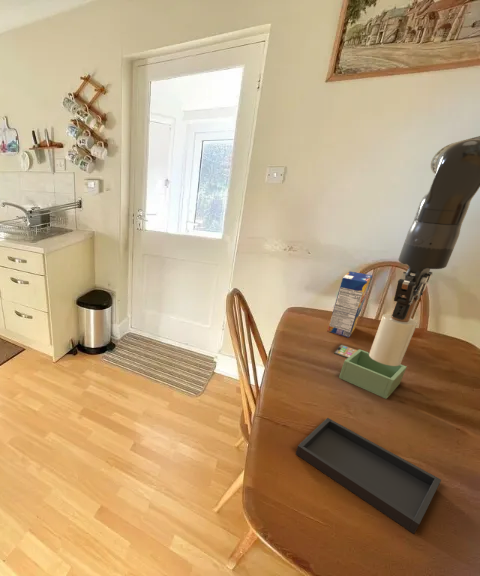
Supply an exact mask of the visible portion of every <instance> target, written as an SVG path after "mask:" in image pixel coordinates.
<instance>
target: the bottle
mask: <svg viewBox="0 0 480 576" xmlns="http://www.w3.org/2000/svg"><path fill="white" fill-rule="evenodd" d="M402 297H403V296H402ZM403 298H407V297H403ZM417 302H418V300H417V301H416V300H414V299H413V303H412V304H411V305H410V308H409V311H408V313H407V316H406V318H405V319H404V320H401V319H397V318H394V317H392V314H393V311H394V309H395V306H396V303H397V302H396V301H395V303H394V306H393V309H392V312H391V313H384V314H382V317H381V319H380V322H379V325H378V327H377V331H376V333H375V336H374V339H373V341H372V344H371V347H370V349H369V356H370V357H371V358H372V359H373V360H375V361H377V362H379V363H382V364H385V365H390V366H399V365H402V363H403V361H404V358H405V355H406V353H407V350H408V348H409V345H410V343H411V341H412V339H413V336H414V333H415V331H416V329H417V326H418V322H417V320H416V319H413V318H412V315H413V312H414V310H415V307H416V305H417Z"/></svg>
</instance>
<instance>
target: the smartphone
mask: <svg viewBox="0 0 480 576" xmlns="http://www.w3.org/2000/svg"><path fill="white" fill-rule="evenodd" d="M358 350H359V349H355V348H352V347H350V346H347V345H344V344H340V345H339V346H338V348H336V350H335V351H334V352H333V354H334V355H336V356H340V357H342V358H346V359H347V358H349V357H350V356H351V355H352V354H354V353H355V352H356V351H358Z"/></svg>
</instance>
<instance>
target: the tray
mask: <svg viewBox="0 0 480 576" xmlns="http://www.w3.org/2000/svg"><path fill="white" fill-rule="evenodd" d="M295 455H296V456H297V457H299V458H300V459H301V460H303V461H304V462H306V463H308V465H311V466H312V467H314V468H315V469H316V470H318V471H319V472H321V473H323V474H324V475H326V476H327V477H329V478H330V479H332V480H333V481H335V482H336V483H337V484H339V485H340V486H341V487H343V488H344V489H346V490H347V491H349V492H351V494H354V495H356V497H358V498H359V499H361V500H363V501H364V502H365V503H367V504H369V505H370V506H372V507H373V508H374V509H376V510H377V511H379V512H381V513H382V514H383V515H385V516H386V517H388V518H389V519H391V520H392V521H394V522H395V523H397V524H398V525H400V526H401V527H403V528H404V529H406V530H407V531H409V532H410V533H411V534H413V535H415V534H416V531H417V530H418V528H419V526H420V525H421V522H422V520H423V518H424V517H425V514H426V512H427V511H428V508H429V506H430V504H431V502H432V500H433V498H434V496H435V494H436V492H437V490H438V488H439V486H440V483H441V482H442V479H441V478H439V477H437V476H436V475H434V474H432V473H430V472H428V471H427V470H424V469H423V468H421V467H419V466H417V465H415V464H413V463H412V462H410V461H408V460H407V459H404V458H402V457H401V456H399V455H397V454H396V453H393V452H391V451H390V450H388V449H386V448H385V447H382V446H380V445H378V444H377V443H375V442H373V441H371V440H369V439H368V438H366V437H365V436H362V435H360V434H358V433H357V432H355V431H353V430H351V429H349V428H347V427H346V426H344V425H342V424H340V423H339V422H337V421H334V420H333V419H331V418H329V417H326V418H325V420H323V421H322V423H320V424H319V425H318V426H317V427H316V428H314V430H313V431H311V433H309V435H307V436H306V437H305V438H304V439H303V440H302V441H301V442H300V443H299V444H298V445H297V447H296V451H295Z"/></svg>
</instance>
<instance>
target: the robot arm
mask: <svg viewBox="0 0 480 576" xmlns="http://www.w3.org/2000/svg"><path fill="white" fill-rule="evenodd" d="M430 170H431V172H432V173H433V174H434V178H433V179H432V182H431V184H430V188H429V191H428V192H427V193H426V194H425V195H424V196H423V197H422V198H421V200H420V202H419V205H418V207H417V210H416V212H415V216H414V217H413V218H414V219H413V221H412V223H411V225H410V226H409V229H408V231H407V233H406V237H405V239H404V241H403V245H402V248H401V250H400V253H399V256H398V259H397V260H398V262H399V263H400V264H403V265H406V266H408V268H407V270H406V271H403V272H402V274H401V276H400V278H399V279H398V281H397V286H396V290H395V294H394V298H393V301H394V302H395V304H396V306H395V305H394V306H395V309H394V308H393V309H394V311H393V310H392V312H393V314H392V313H391V314H392V317H394V318H397V319H401V320H404V319H405V318H406V316H407V313H408V311H409V308H410V305H411V304H412V303H413V299H414V300H416V301H417V302H418V301H419V300H420V297H422V296H423V295H424V292H425V290H426V289H427V285H428V283H429V281H430V280H431V279H432V276H433V271H431V270H441V269H445V268H446V267H448V264H449V261H450V260H451V256H452V254H453V252H454V250H455V247H456V244H457V242H458V240H459V237H460V235H461V230H462V226H463V222H464V220H465V219H466V215H467V214H468V211H469V208H470V205H471V201H472V200H473V198H474V197H475V195H476V194H477V192H478V191H479V189H480V135H478V136H475V137H470V138H467V139H463V140H458V141H454V142H451V143H450V144H447V145H446V146H444V147H441V149H439V150H438V151H437V152H436V153H435V154H434V155H433V157H432V159H431V160H430ZM403 297H407V298H403ZM396 302H397V303H396Z"/></svg>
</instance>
